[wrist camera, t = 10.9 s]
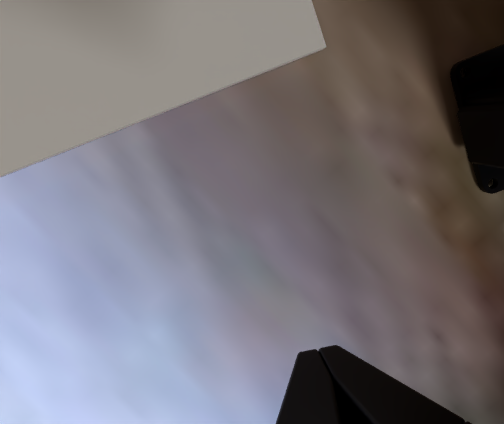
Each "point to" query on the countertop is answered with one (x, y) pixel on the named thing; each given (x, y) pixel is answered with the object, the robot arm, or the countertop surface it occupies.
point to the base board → (130, 63)
